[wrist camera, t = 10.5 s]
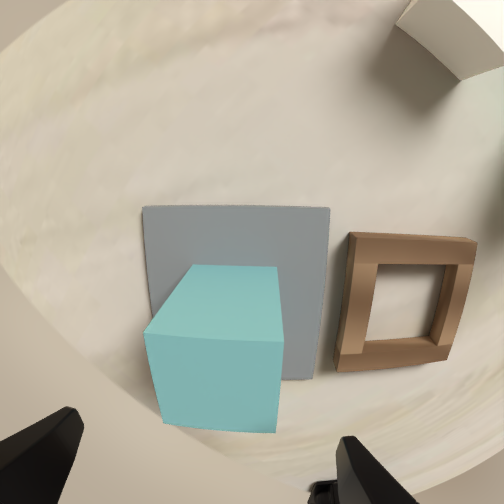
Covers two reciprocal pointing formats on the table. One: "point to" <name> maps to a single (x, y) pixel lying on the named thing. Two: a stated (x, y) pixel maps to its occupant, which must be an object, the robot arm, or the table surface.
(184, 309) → the teal rectangular block
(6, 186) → the table surface
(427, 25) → the white cube
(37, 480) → the robot arm
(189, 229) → the mat
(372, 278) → the frame
